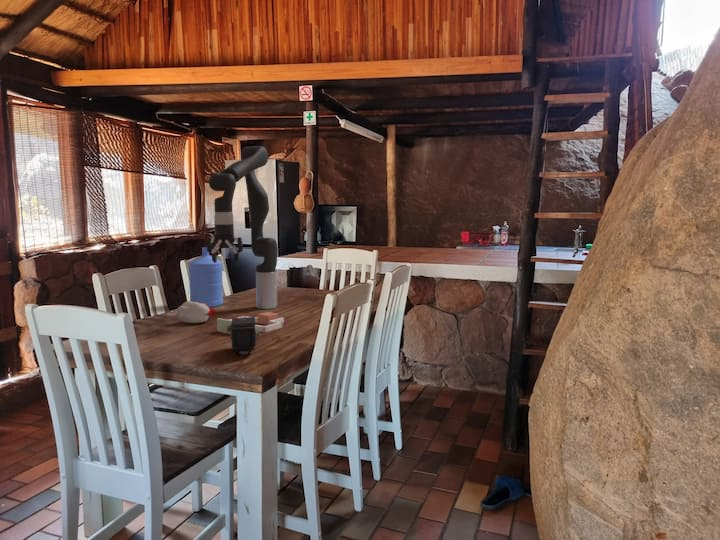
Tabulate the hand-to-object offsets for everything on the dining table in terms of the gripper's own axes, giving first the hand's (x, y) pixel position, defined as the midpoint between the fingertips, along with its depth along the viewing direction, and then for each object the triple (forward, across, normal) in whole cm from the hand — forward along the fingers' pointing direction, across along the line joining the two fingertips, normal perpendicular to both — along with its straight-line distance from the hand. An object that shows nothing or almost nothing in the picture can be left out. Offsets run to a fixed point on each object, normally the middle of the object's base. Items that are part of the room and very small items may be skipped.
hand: (225, 262), depth 224 cm
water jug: (+26, +20, -37) cm, 50 cm away
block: (+25, -17, +1) cm, 31 cm away
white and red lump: (+25, +12, +1) cm, 28 cm away
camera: (+25, -17, +45) cm, 54 cm away
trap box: (+25, -12, +8) cm, 29 cm away
